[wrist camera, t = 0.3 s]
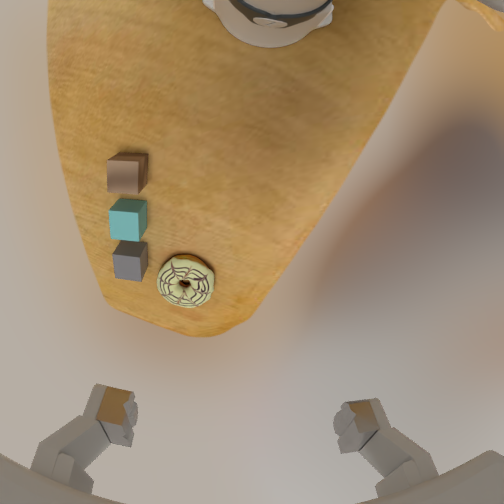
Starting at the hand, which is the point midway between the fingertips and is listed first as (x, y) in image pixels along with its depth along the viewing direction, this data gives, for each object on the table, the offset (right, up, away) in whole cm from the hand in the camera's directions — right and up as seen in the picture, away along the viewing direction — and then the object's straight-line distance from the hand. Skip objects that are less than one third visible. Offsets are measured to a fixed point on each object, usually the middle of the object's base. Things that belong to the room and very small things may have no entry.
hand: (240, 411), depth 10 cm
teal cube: (-20, +13, +36) cm, 43 cm away
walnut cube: (-18, +19, +32) cm, 42 cm away
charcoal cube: (-21, +6, +41) cm, 46 cm away
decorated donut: (-12, +2, +44) cm, 46 cm away
